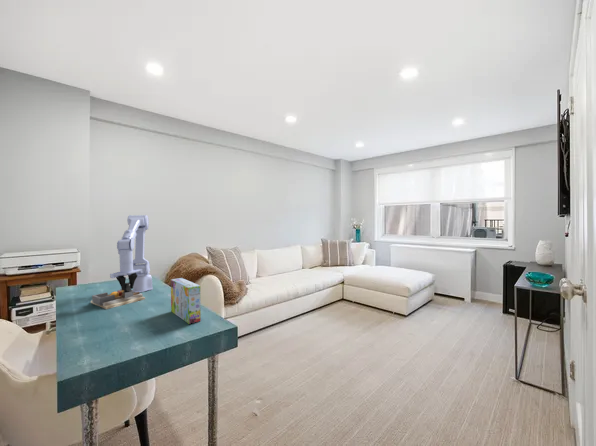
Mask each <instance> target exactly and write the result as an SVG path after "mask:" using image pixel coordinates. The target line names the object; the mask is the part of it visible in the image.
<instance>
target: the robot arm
mask: <svg viewBox="0 0 596 446" xmlns="http://www.w3.org/2000/svg"><path fill="white" fill-rule="evenodd" d="M149 220H150V219H149V216H148V215H147V214H143V215H142V214H141V215H140V214H138V215H137V214H133V215H131V214H129V215H128V216H127V225H128V228H127V229H126V230H125V231H124V233H123V234H122V237H121V239H119V240H117V242H116V249H117V253H118V256H119V257H118V258H119V271H118V272H113V273H110V274H109V277H110V278H109V279H115V278H116V279H117V282H118V283H119V285H120V289H122V290H123V291H125V283H126V281H127V280H126V279H127V278H128V283H131V290H132V291H133V293H135V292H140V293H143V292H146V291H152V290H154V287H153V277H152V275H151V274H150V272H151V266H150V265H151V264H150V261H149V260H148V259H146V258H145V243H146V242H145V241H146V240H145V239H146V231H147V230H149V225H150V224H149V223H150V221H149ZM133 251H134V252H135V253H134V252H133ZM133 253H134V256H133ZM126 276H127V277H126Z"/></svg>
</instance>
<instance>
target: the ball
mask: <svg viewBox="0 0 596 446" xmlns="http://www.w3.org/2000/svg"><path fill="white" fill-rule="evenodd" d="M111 295H115V297H118V296H119V293H118V292H117V291H113V292H111V293H110V296H111Z"/></svg>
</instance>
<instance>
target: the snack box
mask: <svg viewBox="0 0 596 446" xmlns="http://www.w3.org/2000/svg"><path fill="white" fill-rule="evenodd" d="M201 294H202V293H201V285H199V284H198V283H196V282H195V283H194V282H193V281H190V280H187V279H185V278H183V277H179V278H173V279H170V308H171V309H170V312H172V314H174V315H175V316H176V317H179V318H180V319H181V320H183V321H184V322H185V323H187V324H188V325H191V323H192V324H195V322H196V323H200V322H201V321H202V320H201V319H202V318H201V315H202V314H201V313H202V312H201V308H202V307H201V304H202V302H201ZM199 321H200V322H199Z"/></svg>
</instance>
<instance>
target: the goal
mask: <svg viewBox="0 0 596 446" xmlns="http://www.w3.org/2000/svg"><path fill="white" fill-rule="evenodd" d="M108 295H109V294H108V292H103V293H98V294H93V295H92V294H91V301H92V302H93V303H95V304H98V305H103V303H104V302H108V301H112V300H115V295H111V296H108ZM95 304H94V305H95Z"/></svg>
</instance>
